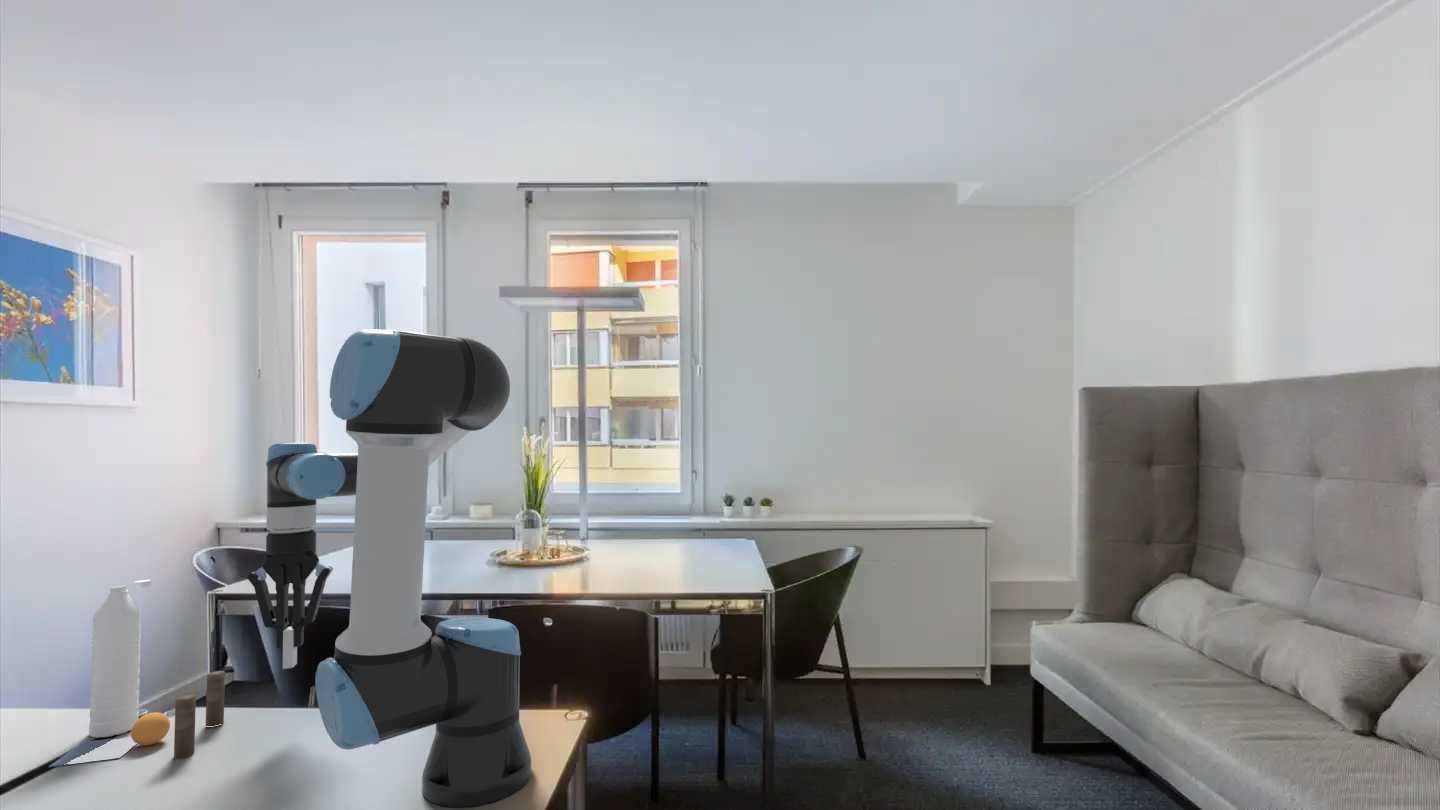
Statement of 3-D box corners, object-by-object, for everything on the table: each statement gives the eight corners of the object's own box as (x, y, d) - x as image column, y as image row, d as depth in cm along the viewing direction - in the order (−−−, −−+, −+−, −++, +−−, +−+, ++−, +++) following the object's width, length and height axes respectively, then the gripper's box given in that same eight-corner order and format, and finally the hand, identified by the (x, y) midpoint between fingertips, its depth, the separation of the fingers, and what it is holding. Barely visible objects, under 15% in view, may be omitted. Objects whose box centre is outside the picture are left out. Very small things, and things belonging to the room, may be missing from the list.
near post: (190, 757, 110) (191, 699, 110) (170, 759, 109) (172, 701, 110) (197, 750, 112) (198, 693, 113) (178, 752, 112) (179, 695, 112)
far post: (220, 726, 121) (221, 674, 122) (203, 728, 121) (204, 676, 121) (226, 721, 124) (227, 670, 124) (209, 723, 123) (210, 671, 124)
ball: (133, 715, 112) (118, 745, 112) (165, 724, 113) (151, 754, 113) (150, 703, 117) (136, 732, 116) (181, 712, 118) (167, 741, 118)
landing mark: (119, 758, 109) (119, 757, 109) (48, 767, 107) (48, 766, 107) (147, 735, 118) (147, 734, 118) (82, 743, 115) (82, 741, 115)
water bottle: (109, 739, 117) (114, 590, 118) (78, 737, 118) (83, 589, 119) (160, 719, 125) (164, 580, 126) (130, 716, 126) (134, 579, 128)
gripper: (337, 525, 128) (336, 655, 126) (256, 530, 124) (254, 664, 122) (327, 530, 120) (326, 668, 119) (241, 534, 117) (238, 677, 115)
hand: (289, 665), depth 121 cm, fingers closed
